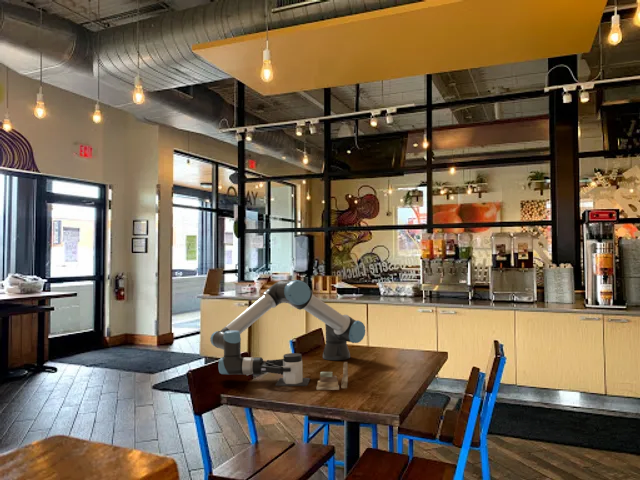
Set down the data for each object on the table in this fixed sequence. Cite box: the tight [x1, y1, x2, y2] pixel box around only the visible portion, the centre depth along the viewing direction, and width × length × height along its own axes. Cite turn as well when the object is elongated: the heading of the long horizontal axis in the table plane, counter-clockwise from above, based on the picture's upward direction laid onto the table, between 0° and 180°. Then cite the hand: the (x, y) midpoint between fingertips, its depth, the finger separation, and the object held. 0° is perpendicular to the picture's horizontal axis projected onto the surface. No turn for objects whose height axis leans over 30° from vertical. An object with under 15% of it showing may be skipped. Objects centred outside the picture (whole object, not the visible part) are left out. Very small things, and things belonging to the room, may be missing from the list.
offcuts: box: [317, 371, 339, 387], centre depth 201 cm, size 8×3×6 cm, turn 85°
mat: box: [275, 377, 311, 387], centre depth 213 cm, size 14×12×1 cm
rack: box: [315, 361, 349, 391], centre depth 208 cm, size 13×17×8 cm
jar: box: [282, 352, 304, 384], centre depth 212 cm, size 9×8×12 cm
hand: (300, 365), depth 213 cm, fingers open, 13 cm apart
